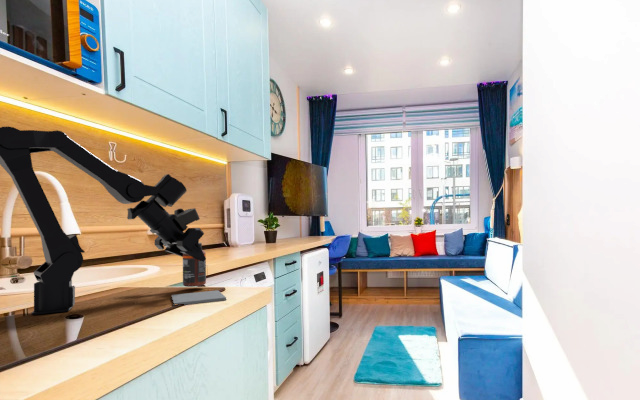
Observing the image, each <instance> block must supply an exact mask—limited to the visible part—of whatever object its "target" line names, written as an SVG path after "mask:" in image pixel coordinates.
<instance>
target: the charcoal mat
mask: <svg viewBox="0 0 640 400" xmlns="http://www.w3.org/2000/svg"><path fill="white" fill-rule="evenodd" d="M171 297H172V298H171ZM171 297H170V298H171V301H172V300H173V301H172V303H174V304H173V306H174V305H175V304H184V305H183V306H186V305H194V304H204V303H213V302H221V301H227V297H226V296H225V295H224V294H223V293H222V292H221V291H219V290H210V291H209V290H207V291H199V292H198V291H197V292H189V293H188V292H187V293H186V292H185V293H177V294H171Z"/></svg>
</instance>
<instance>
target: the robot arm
mask: <svg viewBox="0 0 640 400" xmlns="http://www.w3.org/2000/svg"><path fill="white" fill-rule="evenodd" d="M45 152H54V154H55V153H56V154H57V155H58V156H60V157H62V158H63V159H65V160H66V161H67V162H69V163H71V164H72V165H73V166H75V167H76V168H78V169H79V170H81V171H82V172H84V173H85V174H87V175H88V176H90V177H91V178H93V179H94V180H95V181H97V182H99V184H101V185H102V186H103V187H104V189H105V190H106V191H107V192H108V193H109V194H110V195H111V196H112V197H113V198H114V199H115V200H116V201H117V202H118V203H120V204H124V205H128V204H129V205H131V204H134V203H137V205H135V206H134V207H129V208H127V209H126V210H127V216H126V217H127V218H126V219H127V220H135V219H136V218H137V217H138V218H139V219H140V221H142V222H143V224H145V225H146V226H147V227H148V228H149V232H151V233H152V234H156V235H157V237H156V238H155V239H154V247H156V248H158V250H164V251H165V252H166V253H167V252H168V253H171V254H173V255H176V256H179V257H182V258H183V253H184V254H186V255H188V256H191V257H193V258H195V259H198V260H200V261H202V262H204V261H205V260H206V259H207V258H206V257H205V255H204V253H203V251H204V250H203V248H202V249H201V247H200V245H199V243H200V239H201V238H202V237H203V236H204V235H205V232H204V231H203V230H202V229H201V228H200V227H189V226H188V225H190V224H191V223H193V222H197V221H199V220H200V216H199V214H198V212H197V209H196V208H195V207H194V208H188V209H185V210H184V208H177V209H175V210H174V213H171V214H170V213H169V212H168V211H167V210H166V209H165V208H166V207H173V206H174V205H175V204H176V203H177V202H178V201H179V200H180V199H181V198H182V197H183V196H184V195H185V194H186V193H187V187H186V186H185V185H184V183H183V182H182V181H180V180H178V179H177V178H175V177H172V175H170V174H169V173H167V174H164V175H163V176H162V177H161V179H160V180H159V181H158V182H157V183H156V184H155V185H154V186H153V185H147V184H144V182H143V181H141V180H140V179H138V178H136V177H134V176H133V175H132V176H131V175H130V174H128V173H124V172H123V171H119V170H117V169H115V168H113V167H112V166H111V165H109V164H107V163H106V162H105V161H103V160H101V158H99V157H97V155H94V154H93V153H92V152H90V151H88V150H87V149H86V148H85V147H84V146H81V144H79V143H77V142H76V141H75V140H73V139H72V138H71V137H69V136H68V135H67V134H66V133H65V132H63V131H62V130H58V129H56V130H37V129H36V130H35V129H34V130H33V129H30V130H29V129H28V130H27V129H26V130H25V129H23V130H21V129H18V128H17V127H13V126H9V125H8V126H7V125H6V126H1V127H0V166H1V167H2V168H3V169H4V171H5V172H6V173H7V174H8V175H9V176H10V178H11V180H12V182H13V184H14V186H15V188H16V189H17V192H18V194H19V196H20V198H21V199H22V202H23V204H24V205H25V208H26V210H27V212H28V214H29V216H30V218H31V221H33V224H34V226H35V227H36V230H37V231H38V234H39V236H40V240H41V248H42V252H43V256H44V257H43V258H44V260H45V261H44V262H43V263H42V264H41V265H40V266H39V267H38V268H36V269H35V270H34V272H33V275H34V277H35V279H36V282H35V283H33V311H32V312H31V315H32V316H34V315H44V314H54V313H63V312H64V313H65V312H69V311H70V310H71V309H72V308H73V307H74V306H75V305H76V286H75V285H73V276H74V274H75V272H77V271H78V270H79V269H80V268H81V267H82V265H83V263H84V256H83V253H85V250H84V249H83V248H82V247H81V245H80V241H79V238H78V235H75V234H73V235H68V234H66V232H64V230H63V229H62V227H61V225H60V223H59V221H58V218H57V216H56V214H55V211H54V210H53V208H52V206H51V204H50V202H49V200H48V197H47V196H46V193H45V191H44V189H43V187H42V184H40V181H39V179H38V177H37V175H36V172H35V171H34V167H33V161H32V155H31V154H35V153H45ZM145 197H149V198H148V199H147V200H144V199H145ZM202 250H203V251H202Z"/></svg>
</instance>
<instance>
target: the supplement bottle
mask: <svg viewBox="0 0 640 400" xmlns="http://www.w3.org/2000/svg"><path fill="white" fill-rule="evenodd" d="M199 245H200V247H201V249H202V251H203V253H204V255H205V257H206V251H205V250H203V246H202V245H203V244H202V242H199ZM206 262H207V261H206V260H205V261H204V262H202V261H200V260H198V259H195V258H193V257H191V256H188V255H186V254H184V253H183V257H182V285H183V286H184V287H188V288H189V287H190V288H192V287H200V286H204V285H205V284H207V268H206V267H207V264H206Z"/></svg>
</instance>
